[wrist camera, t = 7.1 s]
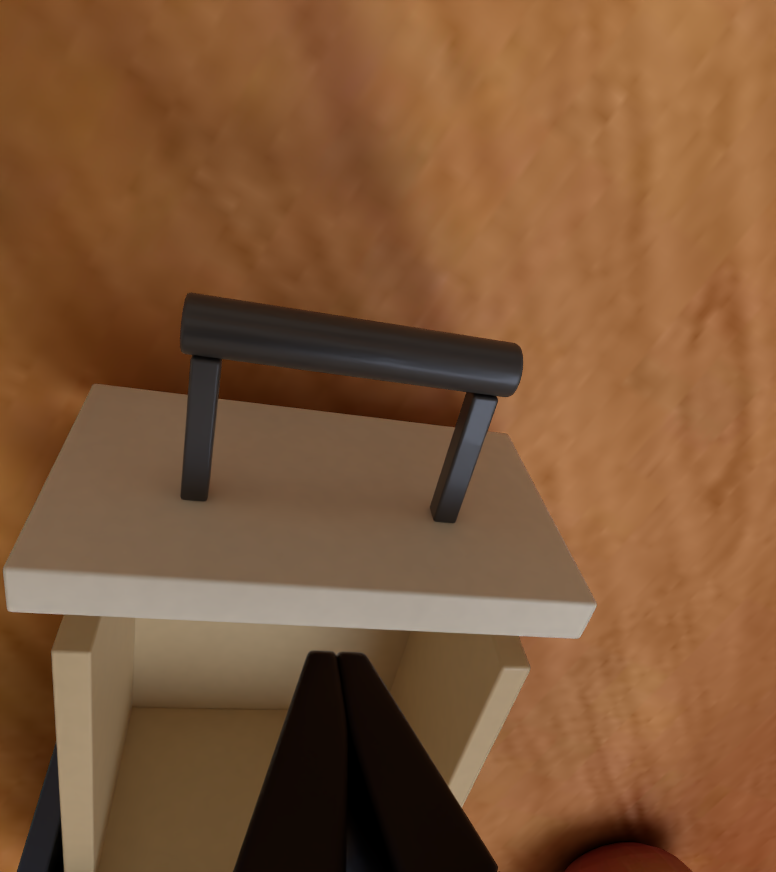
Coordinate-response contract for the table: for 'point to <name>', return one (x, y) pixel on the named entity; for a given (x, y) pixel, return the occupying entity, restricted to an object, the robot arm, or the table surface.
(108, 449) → the drawer
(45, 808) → the cabinet
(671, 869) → the apple
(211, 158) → the table surface
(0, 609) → the table surface
